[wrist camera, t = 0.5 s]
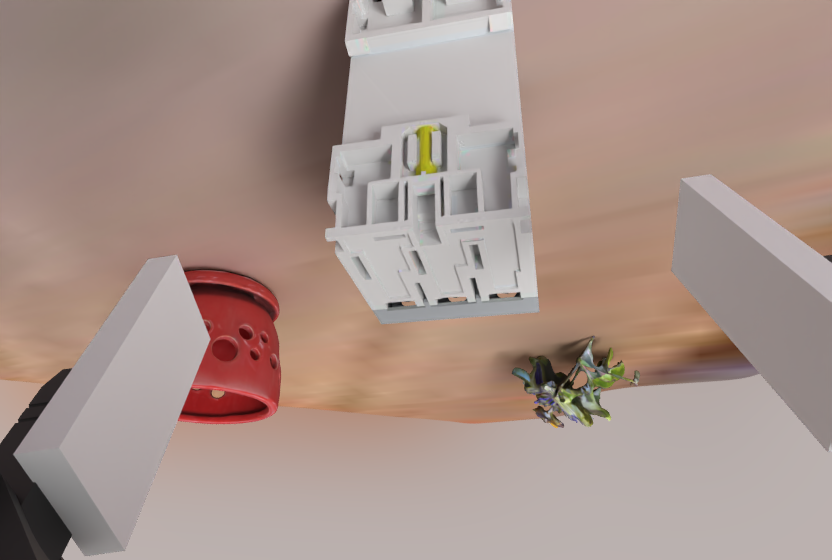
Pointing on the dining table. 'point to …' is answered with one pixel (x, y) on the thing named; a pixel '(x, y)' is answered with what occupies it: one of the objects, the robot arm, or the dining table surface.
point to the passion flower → (561, 393)
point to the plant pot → (234, 350)
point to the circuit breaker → (433, 162)
